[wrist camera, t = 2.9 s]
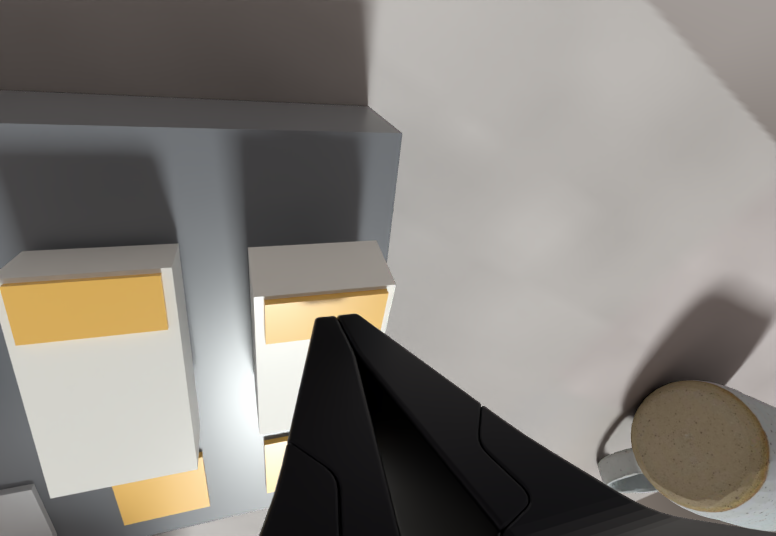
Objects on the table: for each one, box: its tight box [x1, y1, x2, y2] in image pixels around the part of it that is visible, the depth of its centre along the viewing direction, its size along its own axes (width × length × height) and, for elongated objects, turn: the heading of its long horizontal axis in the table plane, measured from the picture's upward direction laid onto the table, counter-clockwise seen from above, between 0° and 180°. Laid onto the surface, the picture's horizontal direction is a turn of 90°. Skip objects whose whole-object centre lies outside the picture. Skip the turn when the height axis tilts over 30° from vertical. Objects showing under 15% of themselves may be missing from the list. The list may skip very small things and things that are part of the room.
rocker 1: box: [0, 243, 200, 499], centre depth 10 cm, size 5×3×2 cm, turn 174°
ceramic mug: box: [598, 380, 776, 531], centre depth 27 cm, size 11×8×8 cm
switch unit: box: [0, 90, 402, 536], centre depth 14 cm, size 14×14×3 cm
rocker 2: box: [248, 240, 396, 435], centre depth 12 cm, size 5×3×2 cm, turn 174°
